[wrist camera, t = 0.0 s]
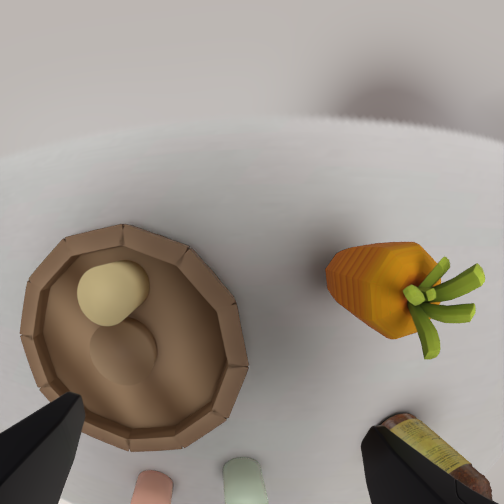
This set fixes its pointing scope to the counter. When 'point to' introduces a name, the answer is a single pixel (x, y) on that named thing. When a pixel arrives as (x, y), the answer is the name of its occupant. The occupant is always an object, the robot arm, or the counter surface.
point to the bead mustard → (112, 291)
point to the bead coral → (152, 488)
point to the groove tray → (176, 328)
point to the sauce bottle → (437, 451)
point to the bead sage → (243, 482)
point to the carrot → (400, 290)
